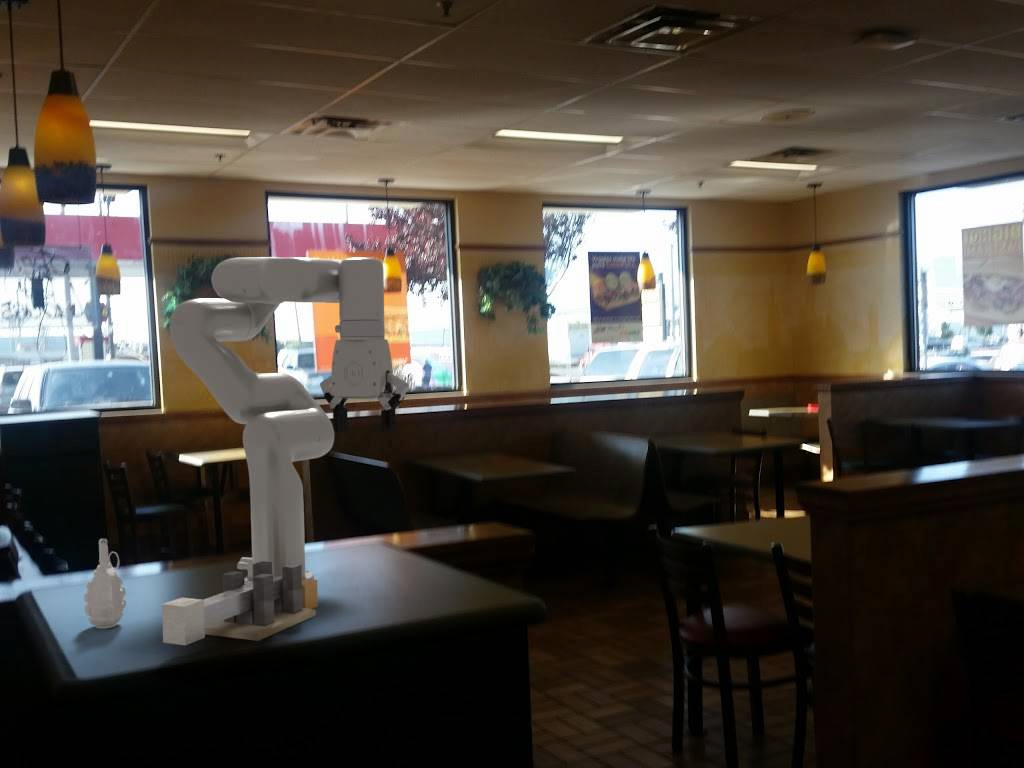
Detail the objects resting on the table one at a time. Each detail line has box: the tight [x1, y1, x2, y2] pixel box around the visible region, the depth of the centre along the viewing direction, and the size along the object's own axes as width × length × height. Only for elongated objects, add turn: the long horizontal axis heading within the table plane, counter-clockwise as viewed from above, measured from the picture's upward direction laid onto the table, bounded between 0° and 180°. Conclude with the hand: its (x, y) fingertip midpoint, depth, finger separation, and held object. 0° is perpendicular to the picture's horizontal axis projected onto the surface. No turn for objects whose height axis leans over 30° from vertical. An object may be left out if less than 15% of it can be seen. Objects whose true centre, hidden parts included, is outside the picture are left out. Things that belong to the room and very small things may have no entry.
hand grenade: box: [83, 538, 127, 630], centre depth 164 cm, size 8×6×14 cm
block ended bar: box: [161, 576, 283, 646], centre depth 158 cm, size 4×24×6 cm, turn 156°
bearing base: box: [204, 561, 317, 642], centre depth 164 cm, size 11×15×8 cm
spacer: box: [302, 579, 319, 609], centre depth 174 cm, size 6×4×4 cm
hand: (364, 432), depth 177 cm, fingers open, 9 cm apart
